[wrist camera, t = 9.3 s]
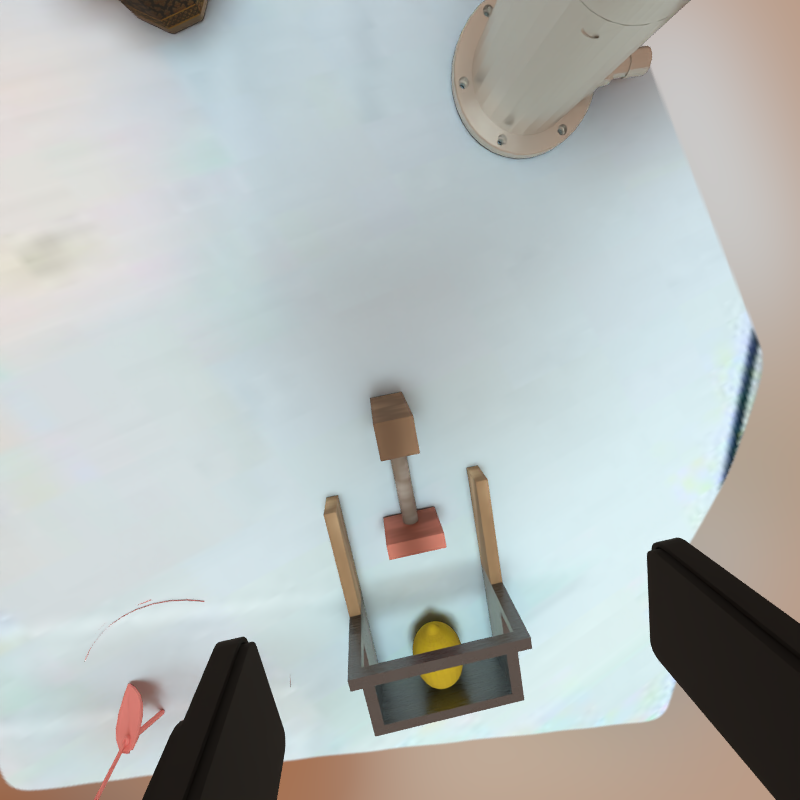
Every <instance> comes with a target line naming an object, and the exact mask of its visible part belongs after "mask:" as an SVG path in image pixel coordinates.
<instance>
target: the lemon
mask: <svg viewBox="0 0 800 800" xmlns="http://www.w3.org/2000/svg"><path fill="white" fill-rule="evenodd" d="M459 644H461V643H460V640H459V638H458V636H457V634H456V633H455V631H454V630H453V629H452V628H451V627H450V626H448V625H447V624H445V623H443V622H439V621H432V622H428V623H426V624H425V625H423V626H422V627H421V628H420V629H419V630H418V632H417V634H416V636H415V638H414V642H413V655H417V654H421V653H425V652H429V651H434V650H438V649H442V648H446V647H451V646H455V645H459ZM462 667H463V665H460V666H456V667H452V668H448V669H443V670H439V671H435V672H431V673H427V674H422V675H420V676H421V677H422V679H423V680H424V681H425V682H426V683H427V684H428V685H430V686H431V687H433V688H436V689H445V688H448V687H451V686H452V685H453V684H455V683H456V681H457V680H458V679H459V677H460V675H461V672H462Z"/></svg>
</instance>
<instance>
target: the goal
mask: <svg viewBox="0 0 800 800" xmlns="http://www.w3.org/2000/svg"><path fill="white" fill-rule="evenodd" d="M481 565H482V564H481ZM482 571H483V578H484V584H485V591H486V597H487V604H488V610H489V617H490V623H491V630H492V636H493V637H489V638H485V639H480V640H476V641H472V642H468V643H463V644H459V645H455V646H451V647H446V648H442V649H438V650H434V651H429V652H425V653H421V654H417V655H412V656H408V657H404V658H400V659H395V660H391V661H387V662H383V663H378V660H377V655H376V651H375V647H374V643H373V639H372V635H371V631H370V626H369V622H368V618H367V614H366V610H365V606H364V602H363V597H362V593H361V615H356V616H352V617H350V623H349V656H348V683H349V687H350V691H355V690H359V689H363V691H364V695H365V699H366V702H367V706H368V710H369V714H370V718H371V722H372V726H373V730H374V733H375V736H379V735H383V734H387V733H392V732H396V731H400V730H404V729H408V728H412V727H416V726H420V725H424V724H428V723H432V722H437V721H441V720H445V719H449V718H453V717H457V716H461V715H465V714H469V713H473V712H477V711H481V710H486V709H490V708H494V707H498V706H502V705H506V704H510V703H514V702H518V701H522V700H524V695H523V687H522V680H521V673H520V665H519V658H518V652H519V651H523V650H527V649H532V644H531V637H530V635H529V633H528V631H527V629H526V627H525V626H524V624H523V622H522V620H521V618H520V616H519V614H518V612H517V610H516V608H515V606H514V604H513V602H512V600H511V598H510V596H509V594H508V593H507V591H506V589H505V587H504V585H503V583H502V582H501V583H496V584H492V585H491V583H490V581H489V579H488V577H487V575H486V573H485V570H484V568H483V566H482ZM460 665H463V667H462V672H461V675H460V677H459V679H458V680H457V681H456V683H455V684H453V685H452V686H451V687H448V688H445V689H436V688H433V687H431V686H430V685H428V684H427V683H426V682H425V681H424V680H423V679H422V677H421V676H420V675H422V674H427V673H431V672H435V671H439V670H443V669H448V668H452V667H456V666H460Z"/></svg>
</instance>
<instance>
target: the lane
mask: <svg viewBox="0 0 800 800" xmlns="http://www.w3.org/2000/svg"><path fill="white" fill-rule="evenodd" d="M467 474H468V480H469V487H470V493H471V500H472V506H473V513H474V519H475V526H476V532H477V539H478V545H479V552H480V558H481V564H482V566H483V568H484V570H485V573H486V575H487V577H488V579H489V581H490V583H491V585H492V584H496V583H501V582H502V577H501V570H500V563H499V556H498V549H497V542H496V535H495V528H494V521H493V514H492V506H491V499H490V492H489V485H488V479H487V478H486V477H485V475H484V474H483V472H482V471H481V470H480V468H479V467H478V466H473V467H468V468H467ZM324 518H325V522H326V526H327V530H328V534H329V538H330V542H331V545H332V549H333V553H334V557H335V561H336V565H337V569H338V573H339V577H340V581H341V585H342V589H343V593H344V597H345V601H346V604H347V608H348V612H349V616H350V617H352V616H356V615H361V589H360V585H359V581H358V577H357V573H356V569H355V564H354V560H353V556H352V552H351V548H350V544H349V540H348V535H347V531H346V527H345V523H344V519H343V515H342V511H341V506H340V502H339V498H338V495H337V496H332V497H327V498H326V504H325V510H324Z"/></svg>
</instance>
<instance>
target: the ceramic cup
mask: <svg viewBox="0 0 800 800" xmlns="http://www.w3.org/2000/svg"><path fill="white" fill-rule="evenodd" d="M119 1H121V2H122V3H123V4H124V5H125V6H126V7H127V8H128V9H129V10H130V11H132V12H133V13H134V14H135V15H136V16H137V17H138V18H140V19H141V20H144V21H146V22H148V23H150V24H152V25H154V26H156V27H159V28H161V29H163V30H165V31H167V32H170V33H176V32H178V31H181V30H183V29H185V28H187V27H189V26H191V25H193V24H195V23H197V22H199V21H201V20H203V17H204V13H205V9H206V5H207V1H208V0H119Z"/></svg>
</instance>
